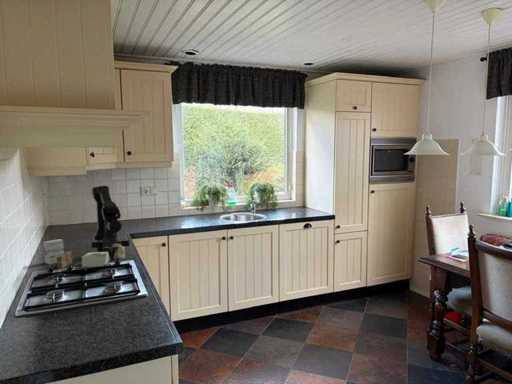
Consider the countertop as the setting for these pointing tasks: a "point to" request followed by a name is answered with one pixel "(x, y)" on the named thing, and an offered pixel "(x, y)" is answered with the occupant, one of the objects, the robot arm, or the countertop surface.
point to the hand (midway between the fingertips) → (112, 260)
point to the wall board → (64, 260)
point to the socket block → (95, 259)
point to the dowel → (121, 252)
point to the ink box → (53, 250)
